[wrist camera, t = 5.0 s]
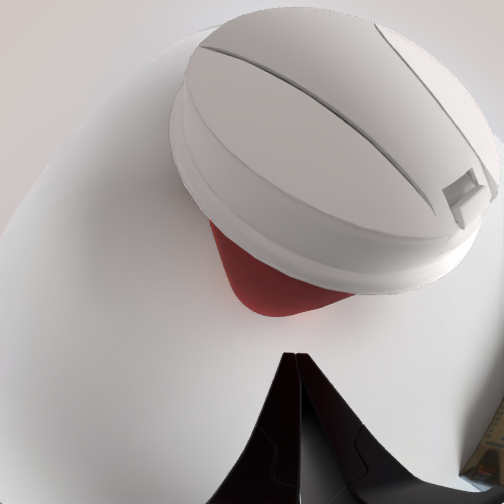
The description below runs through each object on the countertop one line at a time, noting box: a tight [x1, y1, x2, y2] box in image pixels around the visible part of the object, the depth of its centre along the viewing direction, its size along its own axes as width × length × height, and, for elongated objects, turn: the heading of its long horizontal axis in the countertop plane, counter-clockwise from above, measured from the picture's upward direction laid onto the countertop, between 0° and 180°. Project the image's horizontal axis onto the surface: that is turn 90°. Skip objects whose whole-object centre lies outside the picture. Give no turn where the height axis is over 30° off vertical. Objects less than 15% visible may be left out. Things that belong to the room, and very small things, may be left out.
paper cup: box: [169, 7, 500, 317], centre depth 11 cm, size 8×8×14 cm
